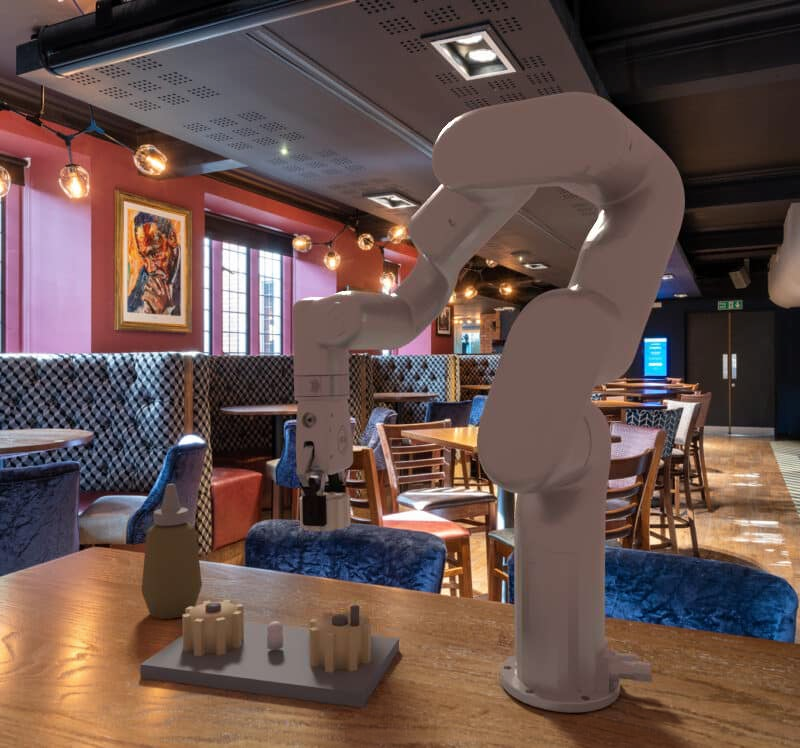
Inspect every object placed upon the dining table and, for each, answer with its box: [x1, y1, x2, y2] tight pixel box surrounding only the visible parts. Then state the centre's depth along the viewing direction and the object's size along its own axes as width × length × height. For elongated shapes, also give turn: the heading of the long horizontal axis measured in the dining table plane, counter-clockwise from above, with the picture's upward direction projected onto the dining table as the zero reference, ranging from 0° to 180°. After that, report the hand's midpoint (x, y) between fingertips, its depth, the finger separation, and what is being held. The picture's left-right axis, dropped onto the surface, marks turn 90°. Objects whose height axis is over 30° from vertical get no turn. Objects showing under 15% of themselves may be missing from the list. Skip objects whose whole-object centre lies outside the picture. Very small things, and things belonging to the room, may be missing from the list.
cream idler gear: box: [299, 492, 352, 533], centre depth 92 cm, size 7×7×4 cm
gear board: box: [139, 599, 400, 709], centre depth 78 cm, size 26×14×8 cm, turn 75°
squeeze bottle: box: [141, 483, 203, 620], centre depth 94 cm, size 8×8×18 cm
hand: (325, 518), depth 92 cm, fingers closed on cream idler gear, 6 cm apart
